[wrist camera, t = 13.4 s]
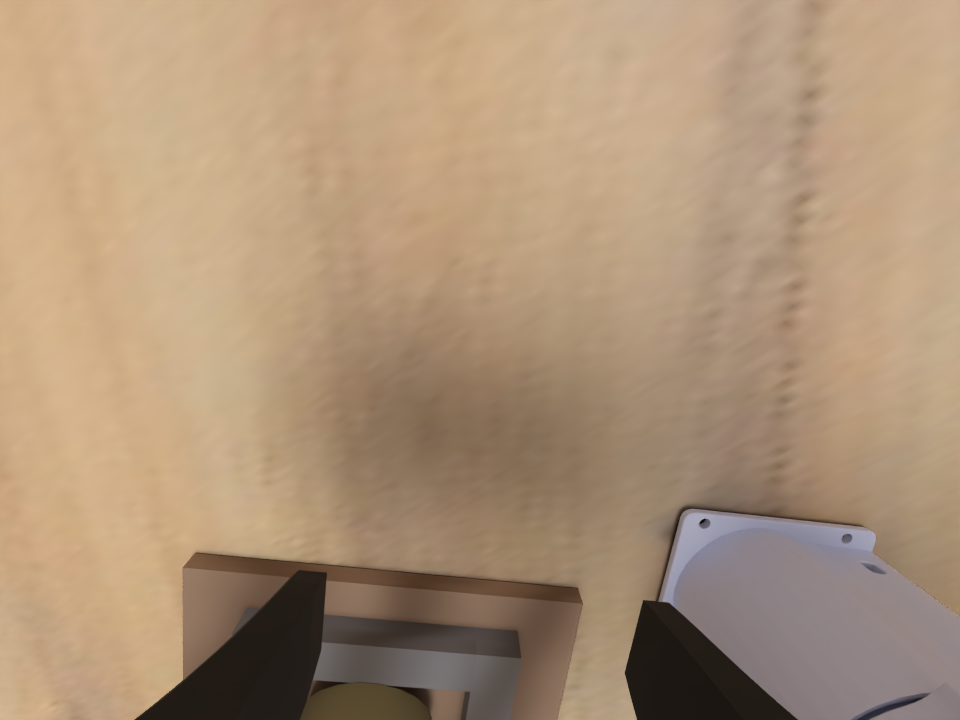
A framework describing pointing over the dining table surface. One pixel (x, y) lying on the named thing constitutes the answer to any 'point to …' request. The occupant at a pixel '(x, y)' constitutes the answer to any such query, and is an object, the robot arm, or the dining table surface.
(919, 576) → the dining table surface
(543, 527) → the dining table surface
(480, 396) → the dining table surface
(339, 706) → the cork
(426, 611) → the socket board
